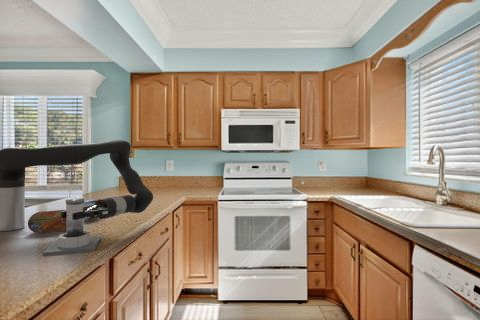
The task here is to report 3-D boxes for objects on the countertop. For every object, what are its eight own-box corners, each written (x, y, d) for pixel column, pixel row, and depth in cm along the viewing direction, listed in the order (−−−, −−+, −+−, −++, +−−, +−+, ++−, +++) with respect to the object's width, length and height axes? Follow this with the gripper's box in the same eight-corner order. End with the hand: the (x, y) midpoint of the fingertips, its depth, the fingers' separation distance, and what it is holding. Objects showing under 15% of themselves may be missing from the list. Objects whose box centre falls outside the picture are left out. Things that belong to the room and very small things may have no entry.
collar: (42, 255, 85) (42, 242, 85) (56, 242, 98) (56, 230, 98) (94, 251, 90) (94, 238, 90) (100, 238, 103) (100, 228, 103)
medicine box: (84, 220, 131) (85, 202, 131) (76, 220, 132) (76, 201, 132) (96, 217, 139) (96, 199, 139) (88, 216, 140) (89, 199, 139)
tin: (27, 234, 108) (27, 212, 108) (29, 232, 110) (29, 211, 110) (73, 230, 115) (73, 209, 114) (73, 228, 117) (73, 208, 117)
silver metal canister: (63, 238, 91) (63, 201, 90) (68, 233, 96) (67, 198, 96) (82, 236, 92) (82, 200, 92) (85, 232, 98) (85, 197, 97)
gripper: (97, 196, 110) (53, 202, 94) (124, 198, 104) (82, 206, 88) (97, 215, 110) (53, 225, 94) (124, 218, 104) (82, 229, 89)
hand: (67, 215), depth 92 cm, fingers closed on silver metal canister, 5 cm apart
